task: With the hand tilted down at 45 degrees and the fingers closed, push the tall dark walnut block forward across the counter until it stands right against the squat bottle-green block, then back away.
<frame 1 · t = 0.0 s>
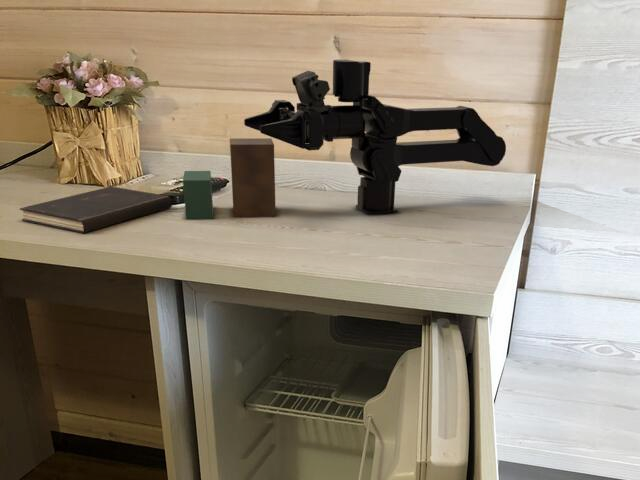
hand: (252, 125, 130), 17 cm above the worktop, tool horizontal, fingers open, 9 cm apart
hardcover book: (100, 215, 140), on the worktop
green block: (199, 213, 143), on the worktop
walnut block: (254, 212, 144), on the worktop
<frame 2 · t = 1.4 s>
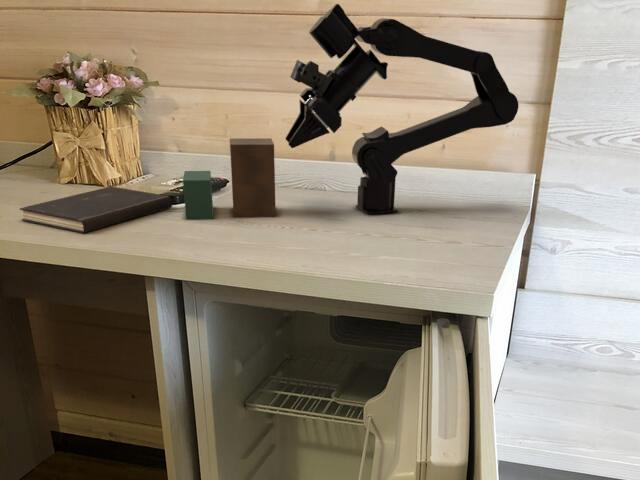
hand: (288, 143, 139), 13 cm above the worktop, tool tilted 45°, fingers open, 6 cm apart
nothing on the worktop moved.
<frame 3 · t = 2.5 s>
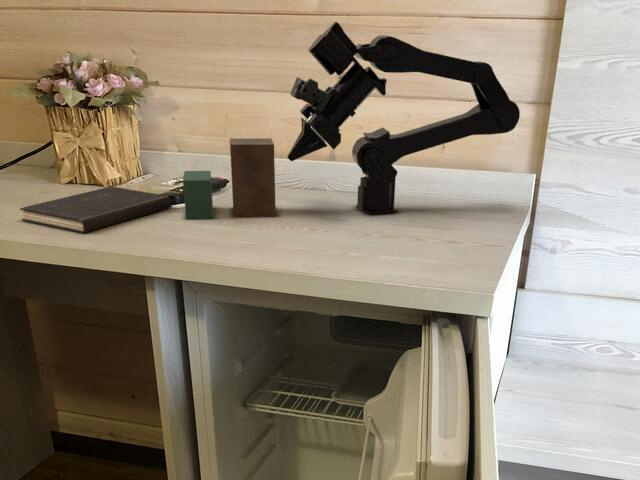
hand: (289, 159, 140), 10 cm above the worktop, tool tilted 45°, fingers closed
nothing on the worktop moved.
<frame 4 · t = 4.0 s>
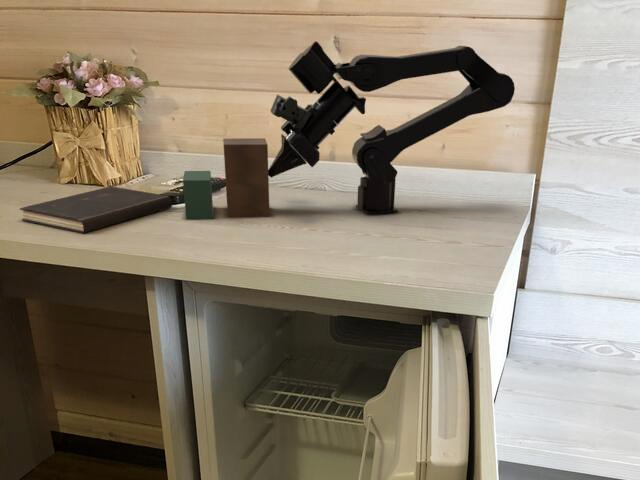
hand: (268, 175, 141), 7 cm above the worktop, tool tilted 45°, fingers closed, pressing on walnut block
walnut block: (248, 212, 144), on the worktop, touching gripper
everything else where it was.
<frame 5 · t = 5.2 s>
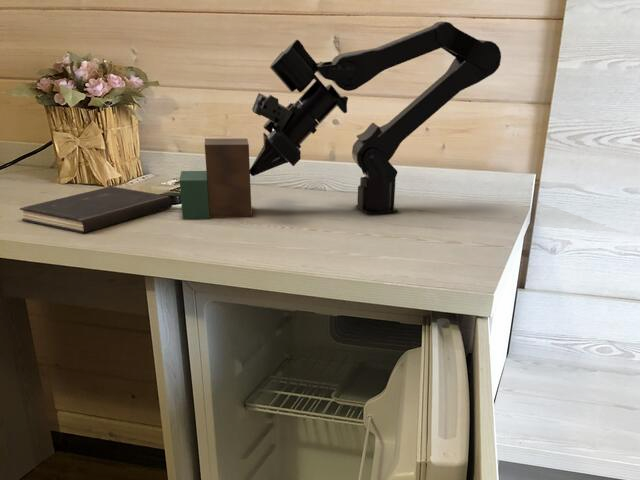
hand: (250, 173, 140), 7 cm above the worktop, tool tilted 45°, fingers closed, pressing on walnut block
green block: (196, 213, 143), on the worktop, touching walnut block
walnut block: (230, 212, 144), on the worktop, touching green block, gripper
everything else where it was.
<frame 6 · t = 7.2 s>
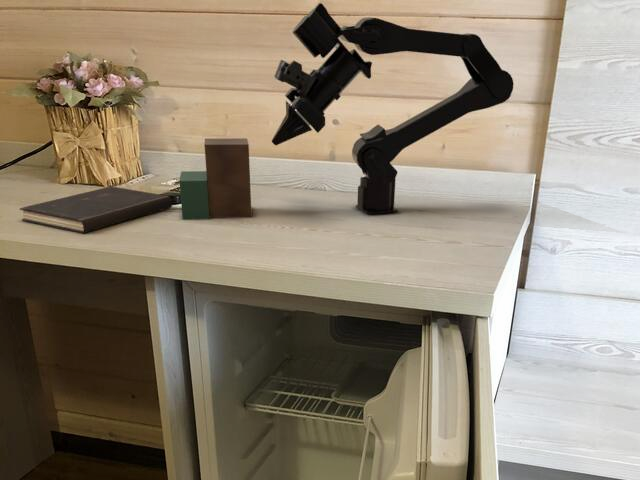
hand: (273, 143, 138), 13 cm above the worktop, tool tilted 45°, fingers closed
green block: (196, 213, 143), on the worktop
walnut block: (230, 212, 144), on the worktop
everything else where it was.
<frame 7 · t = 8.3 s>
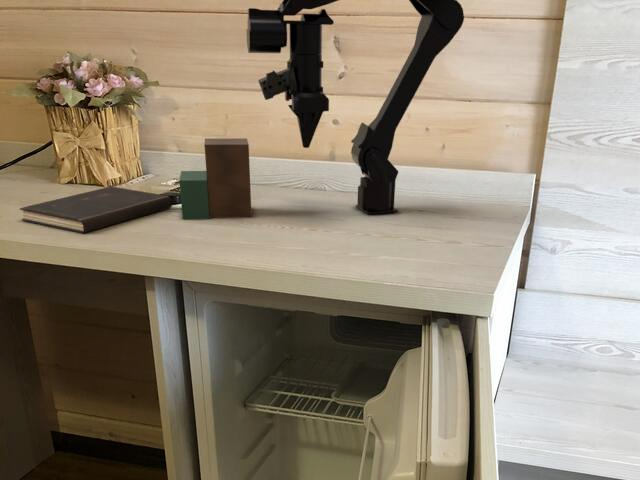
hand: (305, 147, 139), 12 cm above the worktop, tool pointing down, fingers closed
nothing on the worktop moved.
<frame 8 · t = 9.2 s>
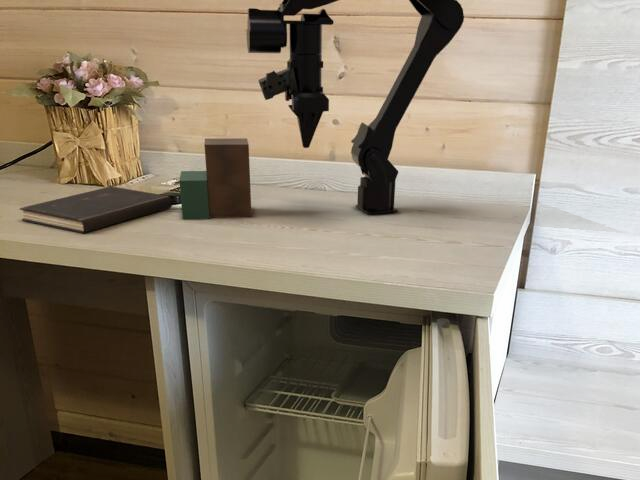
hand: (305, 147, 139), 12 cm above the worktop, tool pointing down, fingers closed
nothing on the worktop moved.
at the end: walnut block 6.5 cm from the green block (horizontally); walnut block tilted 0°; green block moved 0.6 cm from its start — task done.
